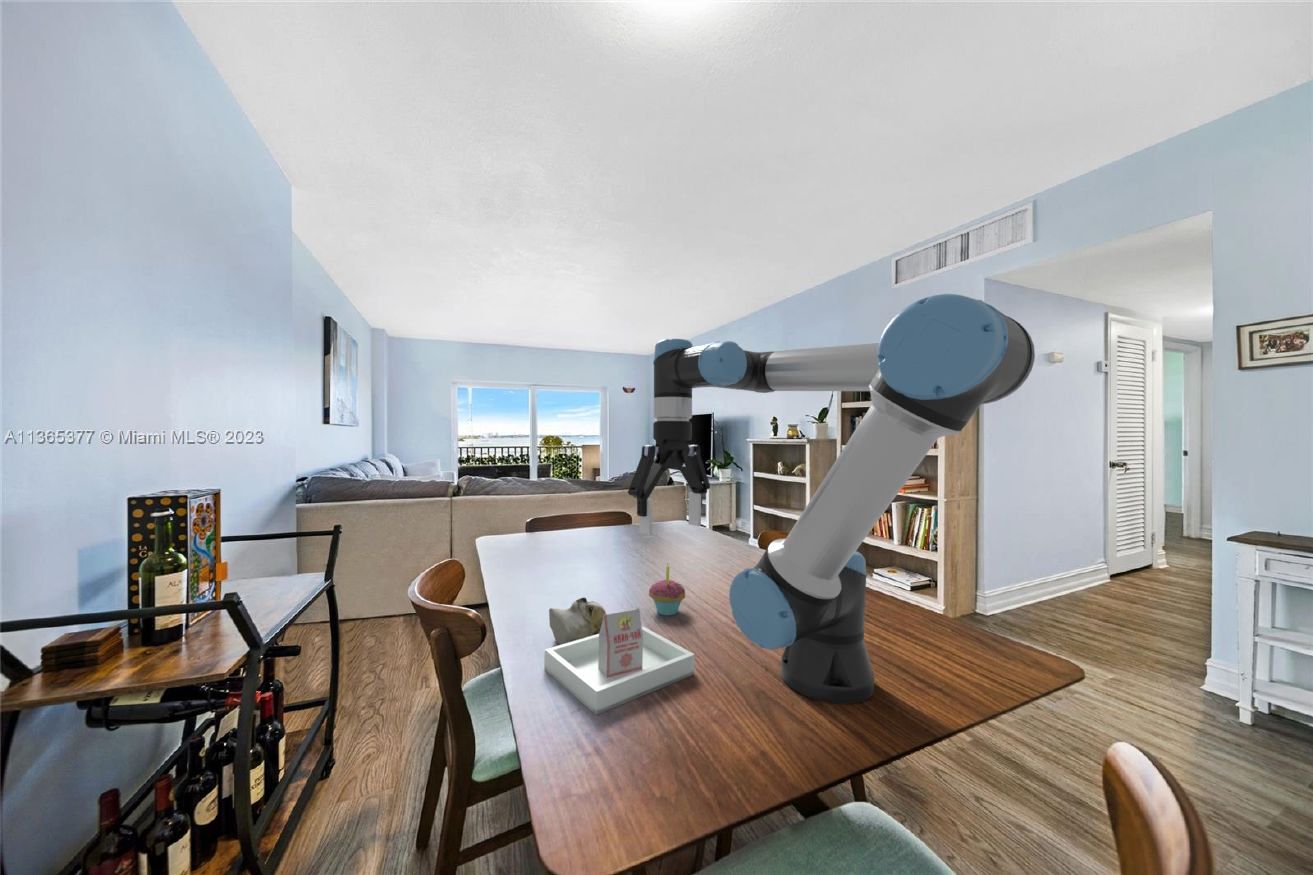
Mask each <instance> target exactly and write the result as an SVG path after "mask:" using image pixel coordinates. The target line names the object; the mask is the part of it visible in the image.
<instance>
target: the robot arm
mask: <svg viewBox="0 0 1313 875" xmlns="http://www.w3.org/2000/svg"><path fill="white" fill-rule="evenodd" d="M1035 356H1036V354H1035V345H1034V342H1033V339H1032V337H1031V334H1030V333H1029V332H1028V331H1027V329H1026V328H1025V327H1024V326H1023V325H1022V324H1021V323H1020V322H1018V321H1017V320H1015V319H1014V318H1011V317H1010V316H1007V315H1006V314H1004V313H1002V312H1001V311H999V310H998V309H997V308H995V307H994V306H993V305H991V304H988V303H986V302H985V301H984V300H982V299H976V298H972V297H969V296H965V295H962V294H954V293H953V294H952V293H943V294H942V293H941V294H934V295H931V296H928V297H927V296H926V297H925V298H922V299H919V300H918V299H917V300H916V301H914V302H913V303H910V304H909V305H907V306H906V307H904V308H903V309H901V310H900V311H899V312H898V313H897V314H896V315H895V316H894V317H893V318H892V319H891V320H890V321H889V323H888V324H887V325H886V327H885V328H884V330H883V332H882V334H881V336H880V339H879V342H878V343H877V342H876V343H861V344H860V343H859V344H851V345H849V344H848V345H837V346H827V347H826V346H823V347H814V348H800V349H799V348H798V349H797V348H796V349H786V350H776V351H760V352H758V351H751V350H749V351H748V350H745V349H743V348H742V347H740V346H739V344H738V343H737V342H734V341H730V340H728V341H714V342H710V343H708V344H704V345H703V344H702V345H698V346H693V343H692V341H690V340H689V339H684V338H683V339H682V338H665V339H661V340H659V341H657V342H656V344H655V345H654V356H653V418H654V419H655V421H654V422H653V426H652V431H653V432H652V433H653V434H652V438H653V440H655V444H654V445H653V444H644V445H642V447H641V455H640V460H639V461H638V465H637V467H636V470H635V472H634V475H633V477H632V480H631V483H630V485H629V487H628V491H627V493H628V495H629V496H632V497H633V498H636V514H637V516H638V533H639V534H643V535H648V536H651V535H652V534H653V498H650V496H651V494H652V492H653V491H654V489H655V488H656V486H657V484H658V482H659V481H660V480H661V478H662V476H663V474H664V473H665V472H666V471H667V470H669V469H678V470H679V471H680V473H681V474H682V476H683V478H684V480H685V481H686V483H687V485H688V486H689V488H690V490H691V492H688V525H690V526H696V527H701V526H702V508H703V494H707V493H708V490H710V489H711V485H710V481H709V478H708V475H707V472H706V469H705V468H706V467H705V466H704V463H703V458H702V455H701V446H700V445H699V444H689V441H691V440H692V438H693V437H692V436H693V432H692V430H693V428H692V427H693V426H692V425H693V423H692V422H691V421H690V419H692V418H693V389H696V388H697V389H698V388H719V389H730V390H737V391H738V390H740V391H749V392H755V393H761V394H766V393H773V392H870V395H871V400H872V403H871V405H870V407H869V408H868V410H867V412H865V414H864V416H863V418H862V420H861V421H860V422H859V424H858V426H857V427H856V428H855V430H854V431H853V433H852V434H851V436H850V438H849V439H848V441H847V443H846V444H845V445H844V447H843V449H842V451H841V452H840V453H839V455H838V457H837V458H836V460H835V461H834V463H833V464H832V466H831V468H830V469H829V471H828V472H827V473H826V475H825V477H824V478H823V480H822V482H821V483H820V485H819V486H818V488H817V489H816V491H815V493H814V494H813V496H812V498H810V500H809V501H808V503H807V505H806V506H805V508H804V509H803V511H802V513H801V515H800V516H798V519H797V521H796V522H795V523H794V525H793V527H792V528H791V530H790V531H789V533H788V535H786V538H778V539H775V540H773V541H772V542H771V543H770V544H769V545H768V546H767V548H766V549H765V551H764V553H763V554H762V556H761V557H760V559H759V561H758V562H757V564H756V565H755V566H754V567H748V568H747V567H746V568H745V569H744V570H742V571H741V572H739V573H737V574H736V575H735V576H734V578H733V579H732V581H731V583H730V587H729V595H728V596H729V604H730V607H731V614H732V616H733V619H734V620H735V623H736V625H737V627H738V628H739V630H740V631H741V633H742V634H743V635H744V636H745V637H746V638H747V639H748V641H750V642H751V643H752V644H754V645H755V646H757V647H758V648H761V649H765V650H768V651H775V650H779V649H782V648H784V651H783V654H782V657H781V660H780V675H781V678H782V680H783V681H784V682H785V684H787V685H788V686H789V687H790V688H791V689H792V690H794V691H795V692H797V693H799V694H801V695H803V696H806V697H808V698H811V699H813V700H817V701H822V702H826V703H832V704H845V705H846V704H847V705H849V704H856V703H861V702H864V701H866V700H868V699H870V698H871V697H872V696H873V694H874V692H875V674H874V671H873V668H872V667H873V666H872V664H871V661H870V657H869V654H868V650H867V648H866V644H865V620H866V619H865V617H866V614H865V613H866V591H867V590H866V588H867V577H868V573H867V565H866V564H867V563H866V558H865V557H864V555H863V554H862V553H860V552H859V551H857V550H858V548H860V546H861V544H862V543H863V542H864V540H865V539H866V538H867V536H868V535H869V533H871V531H872V529H873V528H874V527H875V526H876V524H877V523H878V521H879V520H880V518H882V516H883V515H884V513H885V512H886V510H887V509H888V508H889V506H890V505H891V503H892V502H893V501H894V500H895V499H896V497H897V495H898V494H899V493H900V492H901V490H902V489H903V487H904V486H905V485H906V483H907V482H908V480H910V478H911V477H912V475H913V473H915V471H916V470H917V468H918V467H919V465H920V464H921V463H922V461H923V460H924V458H926V456H927V454H928V453H929V452H930V450H931V449H932V448H933V447H934V445H935V443H937V441H938V439H939V438H943V437H947V436H953V435H956V434H957V435H958V434H960V433H961V432H962V431H963V429H964V428H965V426H966V425H967V424H968V422H969V421H970V420H971V418H972V417H973V416H974V415H975V413H976V412H977V411H978V409H980V407H981V405H985V404H986V405H987V404H990V403H995V402H998V401H1001V400H1003V399H1004V398H1007V397H1009V396H1010V395H1012V394H1013V393H1015V392H1016V391H1017V390H1018V389H1019V388H1021V386H1022V385H1023V384H1024V383H1025V381H1026V380H1027V379H1028V378H1029V376H1030V374H1031V372H1032V369H1033V366H1034V364H1035V360H1036V359H1035Z"/></svg>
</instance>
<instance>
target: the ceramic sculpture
mask: <svg viewBox="0 0 1313 875" xmlns="http://www.w3.org/2000/svg"><path fill="white" fill-rule="evenodd" d="M603 614H607V613H606V610H605V609H604V607H603V606H602V605H601V604H600V603H598V602H596V601H593V600H591V601H588V600H587V598H586V597H581V598H577V599H576V600H575V601H573V603H572V604H571V606H570V607H568V608H566V609H560V608H553V607H551V608H549V610H548V615H549V616H548V617H549V627H550V629H551V631H552V635H553V638H554V640H555V642H556V644H559V645H562V644H565V643H569V642H572V641H576V640H579V639H583V638H586V637H589V636H593V635H596V634H599V632H600V629H601V625H602V620H603Z"/></svg>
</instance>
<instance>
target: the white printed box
mask: <svg viewBox="0 0 1313 875" xmlns="http://www.w3.org/2000/svg"><path fill="white" fill-rule="evenodd" d="M642 626H643V625H642V621H641V613H640V608H636V607H635V608H633V609H631V608H630V609H626V610H621V611H616V612H610V613H606V614H603V620H602V625H601V629H600V632H599V658H598V668H599V669H600V670H601V672H602V673H603V674H604V675H605V676H606V677H611V676H615V675H619V674H623V673H627V672H631V671H635V670H639V669H642V661H643V632H642Z"/></svg>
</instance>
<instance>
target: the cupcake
mask: <svg viewBox="0 0 1313 875" xmlns="http://www.w3.org/2000/svg"><path fill="white" fill-rule="evenodd" d="M665 569H666V570H665V571H666V572H665V579H663V580H659V581H657V582H655V583H654V584H652V585H651V586H650V588H649V589H648V590H649V593H648V596H649V597H650V598H651V599H653V602H654V605H655V607H656V612H657V613H658V614H659V615H662V616H674V615H676V614H677V613H678V611H679V610H680V605H681V602H682V600H684V599H685V598H686V589H685V587H684V586H683V585H682V584H681V583H678V582H676V581H674V580H671V579H670V565H669V563H668V562H667V565H666V568H665Z"/></svg>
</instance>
